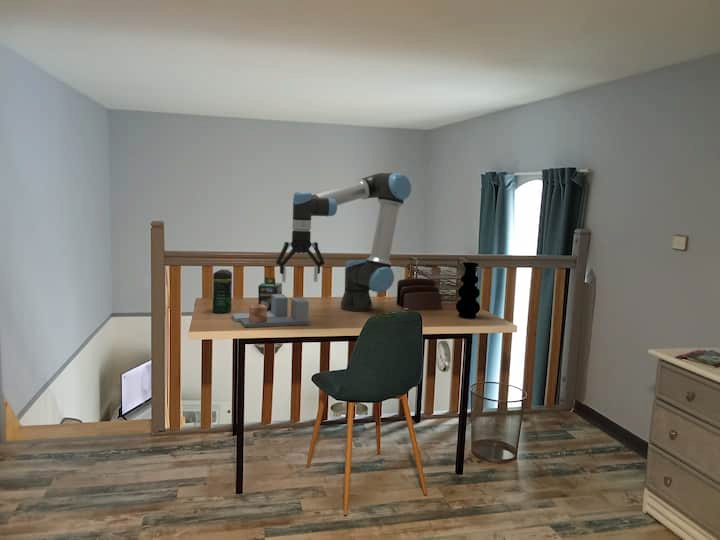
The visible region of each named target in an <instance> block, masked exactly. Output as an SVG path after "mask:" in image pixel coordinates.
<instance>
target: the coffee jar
mask: <svg viewBox="0 0 720 540" xmlns="http://www.w3.org/2000/svg"><path fill="white" fill-rule="evenodd" d="M212 277H213V278H212V311H213V313H214V312H215V313H218V314H223V313H229V312H231V310H232V298H233V297H232V293H233V289H232V287H233V283H232V282H233V273H232V271H230V270H229V269H219V270H217V271H215V272H213V275H212Z"/></svg>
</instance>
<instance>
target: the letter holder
mask: <svg viewBox="0 0 720 540" xmlns="http://www.w3.org/2000/svg"><path fill="white" fill-rule="evenodd" d="M396 285H397V287H396V288H397V289H396V290H397V291H396V304H395V305H397V306H399V307H401V308H403V309H404V308H408V309H417V310H416V311H420V310H422V311H424V310H425V311H426V310H442V305H443V304H442V303H443V301H442V300H443V298H442V297H443V294H442V293H440V292H439V287H437V286H436V280H434V279H431V278H430V279H429V278H423V277H420V278H419V277H416V278H412V277H411V278H402V279H399V280H398V281H397V284H396ZM397 306H396V307H397ZM399 307H398V308H399ZM401 308H400V309H401Z"/></svg>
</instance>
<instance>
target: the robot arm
mask: <svg viewBox="0 0 720 540" xmlns="http://www.w3.org/2000/svg"><path fill="white" fill-rule="evenodd" d="M411 192H412V184H411V181H410V179H409V178H408V176H407V175H406V174H403V173H399V172H380V173H374V174H372V175H369V176H366V177H362V178H360V179H357V180H356V182H353V183H350V184H347V185H343V186H340V187H335V188H333V189H332V188H331V189H329V190H325V191H322V192H319V193H318V192H317V193H315V194H312V193H311V192H302V191H301V192H294V193H293V198H292V199H293V201H292V225H291V229H292V231H291V233H292V234H291V242H289V241H284V243H283V247H282V249H281V251H280V253H279V255H278V257H277V259H276V261H275V264H276V265H278V266H279V274H281V283H286V280H287V279H286V278H287V274H286V273H287V272H286V270H287V267H286V264H287V263H288V261H289V260H290V259H291V258H292V257H293V256H294V255H295V254H307V255H308V257H309V258H310V259H311V260H312V261H313V263H315V265H313V267H314V268H313V281H314V283H317V282H318V280H319V279H318V278H319V277H318V274H321V273H320V272H321V266H322V265H326V263H325V260H324V258H323V256H322V253H321V251H320V249H319V244H318V242H316V241H313V242H311V231H310V230H311V229H312V217H333V216H335V215H336V214H337V212H338V206H340V205H344V204H347V203H350V202H353V201H356V200H360V199H362V200H367V199H377V202H378V203H379V204H380V205H379V209H378V210H379V211H378V216H377V221H376V225H375V232H374V235H373V240H372V242H373V243H372V247H371V252H370V256H368V258H366V259H361V260H359V259H358V260H357V259H355V260H347V261H346V263H345V268H344V291H343V295H342V298H341V301H340V305H339V306H340V307H341V308H340V307H339V308H340V309H342V310H344V309H345V311H350V310H351V312H366V311H365V310H367V311H371V310H372V309H373V303H372V302H373V301H372V299H371V295H370V291H372V292H376V293H377V292H378V293H384V292H386V291H388V289H391V287H392V286H393V283H394V282H395V281H394V280H395V274H394V271H393V270H392V262H391V261H390V255H391V251H392V246H393V241H394V235H395V231H396V225H397V220H398V215H399V209H400V208H401V207H402V206H404V201H405V200H406V199H407V198H409V197H410V196H411ZM290 246H291V250H290V251H289V252H288V254H287V255H286V256H285V254H286V253H287V250H288V249H289V248H290ZM310 248H313V249H314V251H315V254H316V257H317V258H316V257H315V255H314V254H313V252H312V251H311V249H310ZM370 309H371V310H370Z"/></svg>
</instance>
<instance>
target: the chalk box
mask: <svg viewBox="0 0 720 540" xmlns="http://www.w3.org/2000/svg"><path fill="white" fill-rule="evenodd" d="M269 280H271V282H270V281H269ZM257 287H258V292H257V293H258V295H257V296H258V299H257V300H258V302H257V303H258V304H257V305H265V306H266V307H267V311H271V294H283V282H276V278H275V276H274V277H271V276H270V277H269V276H265V278H264V282H262V283H260V284H259V285H258V286H257Z"/></svg>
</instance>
